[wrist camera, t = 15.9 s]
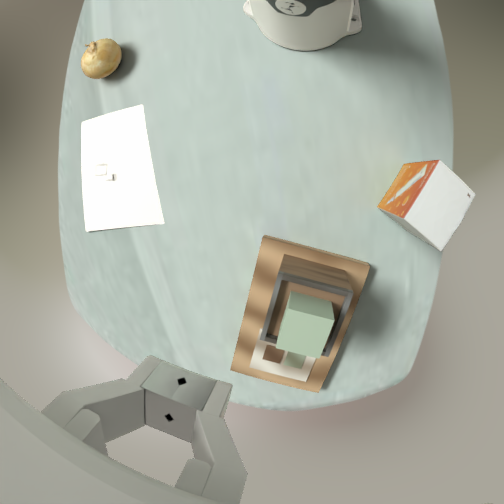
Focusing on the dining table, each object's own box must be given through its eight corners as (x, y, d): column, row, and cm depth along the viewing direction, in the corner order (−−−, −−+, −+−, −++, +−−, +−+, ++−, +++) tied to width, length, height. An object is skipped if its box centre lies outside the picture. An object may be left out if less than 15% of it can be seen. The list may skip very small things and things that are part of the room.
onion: (133, 60, 40) (111, 47, 33) (103, 89, 42) (78, 82, 35) (117, 37, 39) (96, 25, 32) (89, 66, 41) (66, 57, 35)
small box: (403, 162, 37) (440, 157, 25) (434, 188, 37) (478, 194, 24) (375, 207, 39) (402, 219, 27) (406, 232, 39) (442, 253, 27)
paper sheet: (85, 110, 44) (82, 109, 43) (232, 91, 40) (231, 89, 39) (82, 230, 50) (78, 231, 49) (225, 240, 46) (224, 241, 45)
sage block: (290, 290, 34) (288, 308, 29) (331, 301, 34) (334, 320, 29) (280, 326, 35) (275, 347, 31) (318, 336, 35) (319, 358, 30)
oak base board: (264, 234, 43) (250, 252, 33) (367, 262, 41) (385, 288, 31) (233, 363, 50) (215, 403, 39) (318, 385, 48) (318, 428, 38)
